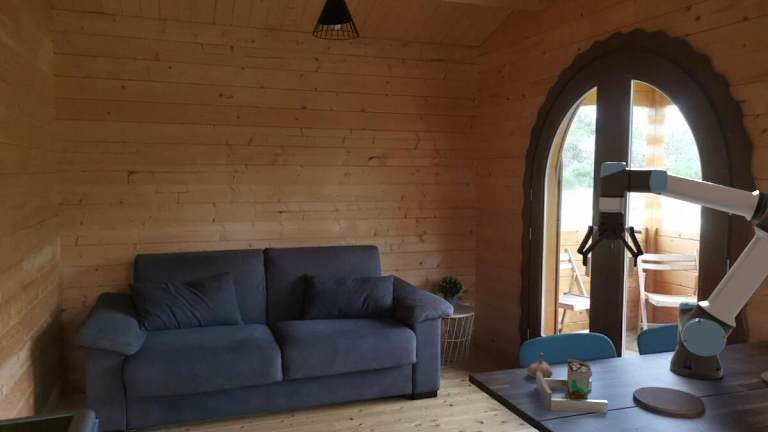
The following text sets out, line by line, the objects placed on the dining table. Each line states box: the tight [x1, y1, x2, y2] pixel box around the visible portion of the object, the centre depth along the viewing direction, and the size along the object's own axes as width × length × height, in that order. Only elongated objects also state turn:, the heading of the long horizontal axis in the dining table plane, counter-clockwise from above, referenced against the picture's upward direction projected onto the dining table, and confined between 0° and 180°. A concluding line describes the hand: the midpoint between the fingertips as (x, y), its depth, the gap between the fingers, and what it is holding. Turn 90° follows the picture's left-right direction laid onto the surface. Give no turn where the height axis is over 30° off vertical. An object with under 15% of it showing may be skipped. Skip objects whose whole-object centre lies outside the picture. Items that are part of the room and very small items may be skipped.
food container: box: [566, 358, 593, 400], centre depth 171 cm, size 12×6×10 cm, turn 169°
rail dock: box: [535, 371, 609, 414], centre depth 171 cm, size 16×17×5 cm
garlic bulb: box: [527, 352, 553, 379], centre depth 190 cm, size 8×7×8 cm
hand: (608, 276), depth 191 cm, fingers open, 13 cm apart
